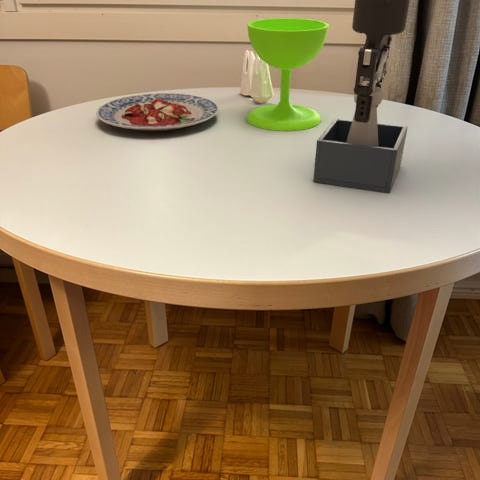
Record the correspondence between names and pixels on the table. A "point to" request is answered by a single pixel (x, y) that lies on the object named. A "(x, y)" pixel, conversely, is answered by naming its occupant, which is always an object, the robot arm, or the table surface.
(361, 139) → the salt shaker
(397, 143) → the tub
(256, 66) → the shaker set
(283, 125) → the wineglass
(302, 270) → the table surface
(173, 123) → the ceramic plate
